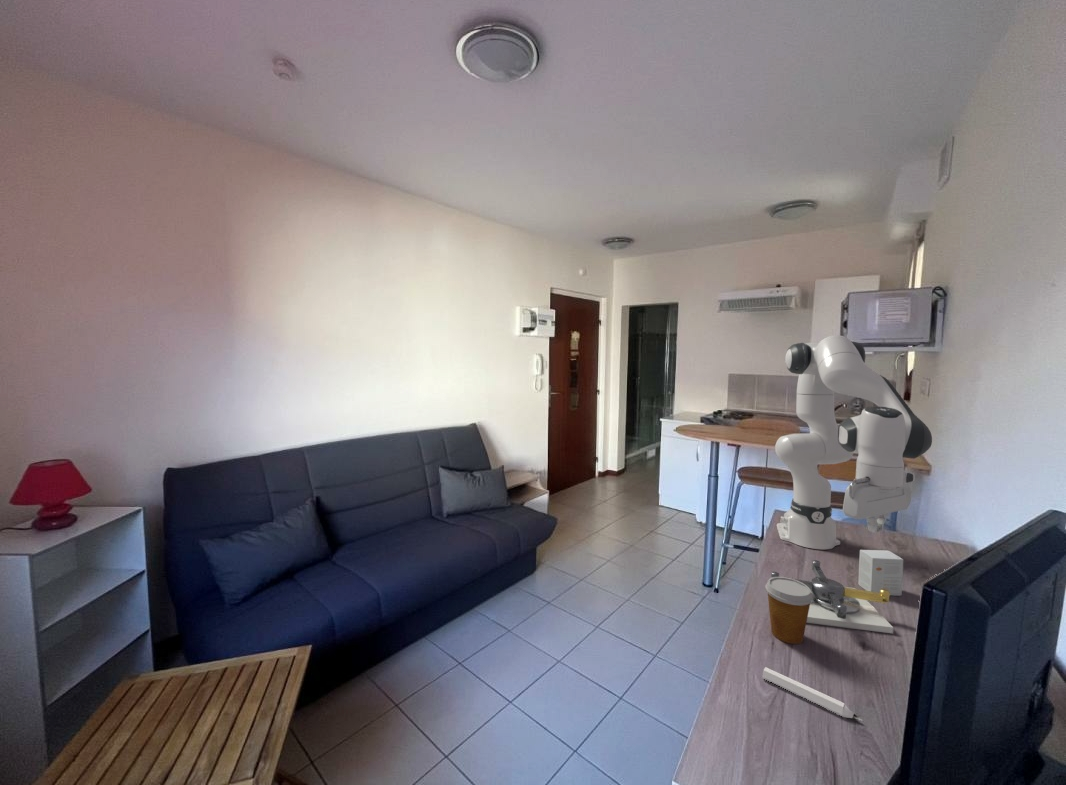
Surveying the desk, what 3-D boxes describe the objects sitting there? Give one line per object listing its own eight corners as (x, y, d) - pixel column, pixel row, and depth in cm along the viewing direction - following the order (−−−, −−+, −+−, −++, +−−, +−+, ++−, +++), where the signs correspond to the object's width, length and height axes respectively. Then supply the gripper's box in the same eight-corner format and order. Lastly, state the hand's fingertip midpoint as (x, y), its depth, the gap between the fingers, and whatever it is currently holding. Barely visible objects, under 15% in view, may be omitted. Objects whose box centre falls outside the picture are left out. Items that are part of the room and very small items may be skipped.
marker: (862, 729, 75) (763, 681, 86) (864, 718, 76) (766, 671, 87) (862, 722, 74) (761, 674, 85) (863, 710, 75) (764, 664, 86)
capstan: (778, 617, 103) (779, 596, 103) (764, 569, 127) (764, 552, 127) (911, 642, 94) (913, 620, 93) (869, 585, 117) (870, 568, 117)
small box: (887, 585, 121) (889, 550, 120) (902, 596, 116) (904, 559, 115) (857, 584, 122) (859, 548, 121) (870, 595, 116) (872, 557, 116)
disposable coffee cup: (819, 651, 94) (821, 599, 93) (772, 646, 95) (774, 594, 95) (800, 625, 103) (802, 577, 102) (758, 621, 105) (759, 574, 104)
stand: (774, 584, 122) (775, 572, 122) (854, 593, 117) (855, 580, 117) (798, 621, 104) (798, 607, 104) (893, 633, 100) (893, 618, 99)
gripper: (865, 483, 95) (862, 543, 96) (919, 474, 102) (915, 529, 103) (836, 476, 100) (833, 532, 102) (889, 467, 108) (885, 520, 109)
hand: (875, 531), depth 103 cm, fingers closed
